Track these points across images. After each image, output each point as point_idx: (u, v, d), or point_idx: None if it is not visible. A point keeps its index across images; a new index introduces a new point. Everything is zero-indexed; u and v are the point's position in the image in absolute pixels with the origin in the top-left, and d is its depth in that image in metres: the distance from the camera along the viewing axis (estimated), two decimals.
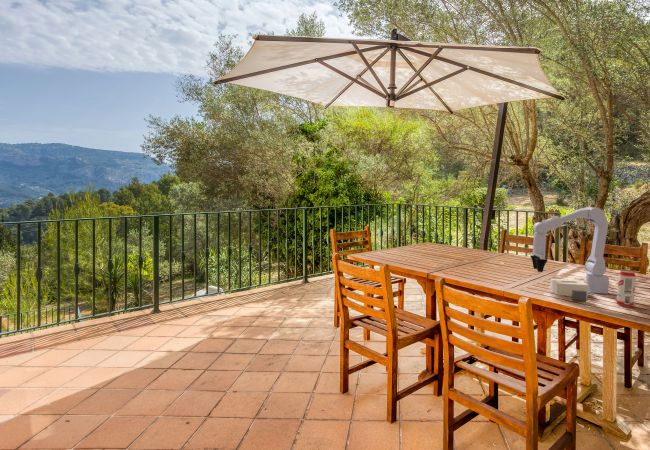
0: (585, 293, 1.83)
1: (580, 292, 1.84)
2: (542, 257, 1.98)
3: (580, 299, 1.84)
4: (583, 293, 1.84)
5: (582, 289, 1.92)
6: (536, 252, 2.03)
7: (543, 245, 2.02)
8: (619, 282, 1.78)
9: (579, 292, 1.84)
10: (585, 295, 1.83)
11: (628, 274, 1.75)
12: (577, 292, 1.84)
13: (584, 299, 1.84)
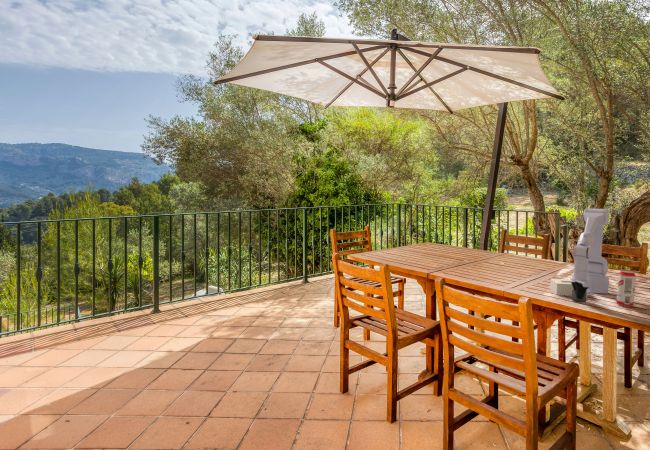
0: (585, 293, 1.83)
1: None
2: (585, 284, 1.77)
3: (580, 299, 1.84)
4: None
5: None
6: (577, 278, 1.83)
7: None
8: (619, 282, 1.78)
9: None
10: (585, 294, 1.83)
11: (628, 274, 1.75)
12: None
13: (584, 299, 1.84)
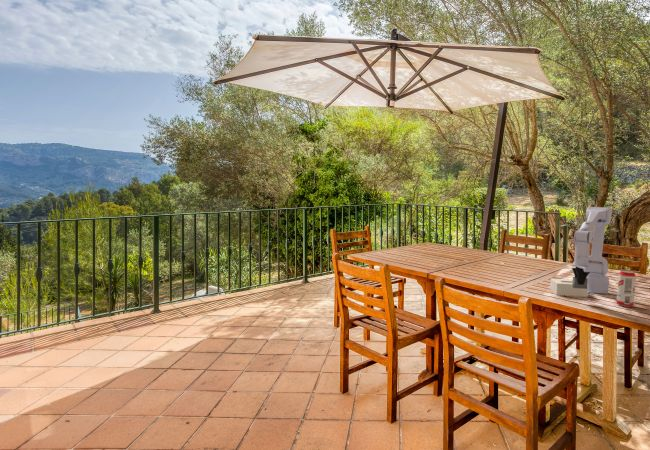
0: (586, 280, 1.83)
1: None
2: (586, 269, 1.77)
3: (581, 286, 1.84)
4: None
5: (582, 289, 1.92)
6: (578, 264, 1.82)
7: (588, 255, 1.82)
8: (619, 282, 1.78)
9: None
10: (586, 281, 1.83)
11: (628, 274, 1.75)
12: (577, 278, 1.84)
13: (585, 286, 1.83)
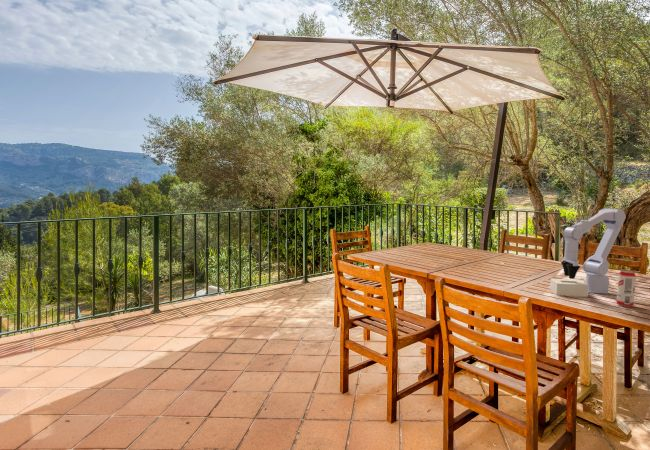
0: None
1: None
2: (575, 264, 1.90)
3: None
4: None
5: (582, 289, 1.92)
6: (568, 258, 1.95)
7: (577, 251, 1.94)
8: (619, 282, 1.78)
9: None
10: None
11: (628, 274, 1.75)
12: None
13: None
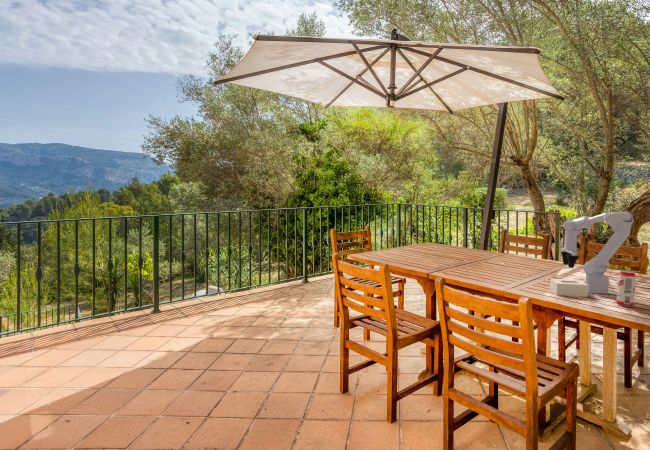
0: None
1: None
2: (574, 253, 2.07)
3: None
4: None
5: (582, 289, 1.92)
6: (567, 249, 2.12)
7: (569, 242, 2.11)
8: (619, 282, 1.78)
9: None
10: None
11: (628, 274, 1.75)
12: None
13: None
